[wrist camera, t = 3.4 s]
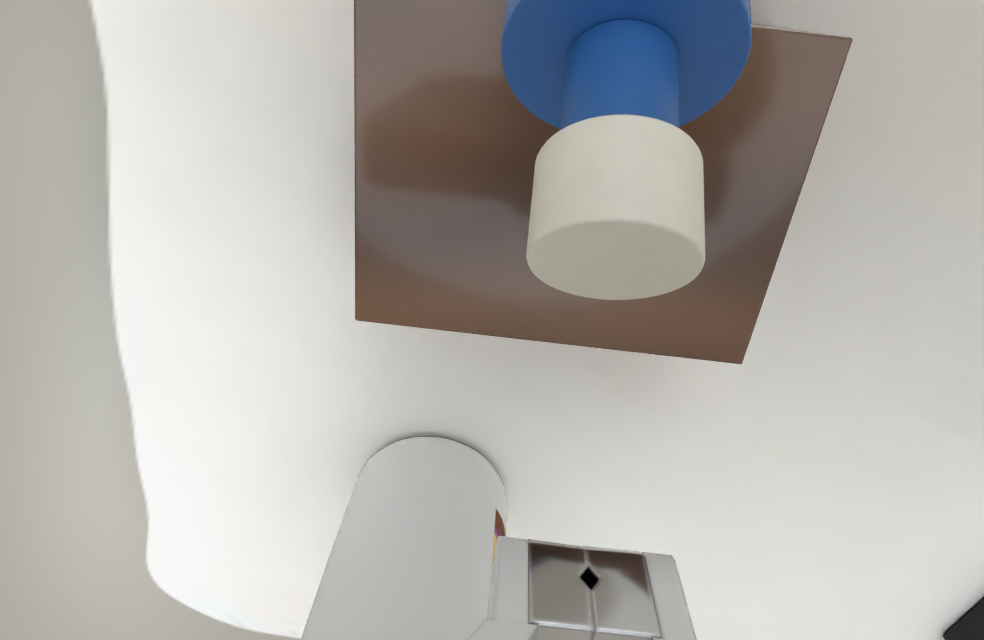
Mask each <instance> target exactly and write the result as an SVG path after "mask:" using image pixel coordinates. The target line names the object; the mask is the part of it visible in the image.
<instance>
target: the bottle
mask: <svg viewBox="0 0 984 640" xmlns="http://www.w3.org/2000/svg"><path fill="white" fill-rule="evenodd" d="M751 40H752V30H751V14H750V0H507V3H506V10H505V18H504V26H503V33H502V41H501V62H502V67H503V72H504V74H505V77H506V80H507V82H508V84H509V86H510V88H511V90H512V92H513V93H514V95H515V96H516V97H517V99H518V100H519V101H520V102H521V103H522V104H523V105H524V106H525V107H526V108H527V109H528V110H529V111H530V112H531V113H533V114H534V115H535V116H536V117H538V118H539V119H541V120H543V121H544V122H546V123H548V124H550V125H552V126H554V127H556V128H558V129H560V130H559V132H557V133H556V134H554V135H553V136H552V137H551V138H550V139H549V140H547V141H546V143H545V144H544V145H543V147H542V148H541V149H540V151H539V153H538V155H537V158H536V161H535V169H534V180H533V190H532V201H531V211H530V222H529V232H528V242H527V253H526V259H527V263H528V266H529V268H530V270H531V271H532V272H533V274H534V275H535V276H536V277H537V278H539V279H540V280H541V281H543V282H544V283H546V284H548V285H549V286H551V287H553V288H556V289H558V290H560V291H563V292H566V293H570V294H573V295H577V296H582V297H587V298H595V299H605V300H630V299H641V298H648V297H653V296H658V295H662V294H665V293H668V292H671V291H674V290H676V289H679V288H681V287H683V286H685V285H686V284H688V283H690V282H691V281H692V280H694V279H695V278H696V277H697V276H698V275H699V273H700V272H701V270H702V268H703V266H704V263H705V218H704V174H703V158H702V154H701V152H700V149H699V147H698V146H697V145H696V143H695V142H694V140H693V139H692V138H691V137H690V136H689V135H688V134H686V133H685V132H684V131H682V130H681V129H679V127H680V126H682V125H684V124H686V123H688V122H690V121H692V120H694V119H696V118H697V117H699V116H701V115H702V114H704V113H705V112H707V111H708V110H709V109H711V108H712V107H714V106H715V105H716V104H717V103H718V102H719V101H720V100H721V99H722V98H724V97H725V95H726V94H727V93H728V92H729V91H730V90H731V88H732V87H733V86H734V84H735V83H736V81H737V80H738V78H739V77H740V75H741V73H742V71H743V69H744V67H745V65H746V63H747V60H748V56H749V53H750V49H751Z"/></svg>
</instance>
